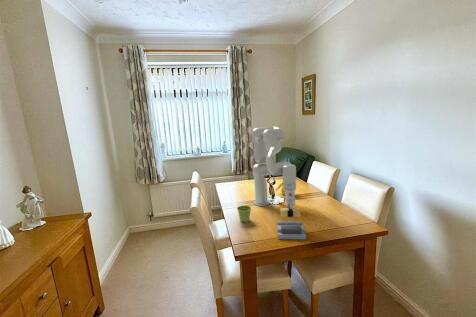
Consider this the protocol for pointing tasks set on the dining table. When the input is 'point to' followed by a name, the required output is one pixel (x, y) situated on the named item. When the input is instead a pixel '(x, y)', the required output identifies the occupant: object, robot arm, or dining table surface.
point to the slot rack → (290, 236)
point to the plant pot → (244, 213)
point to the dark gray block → (291, 230)
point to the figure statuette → (281, 188)
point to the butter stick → (295, 212)
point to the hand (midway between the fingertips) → (290, 214)
